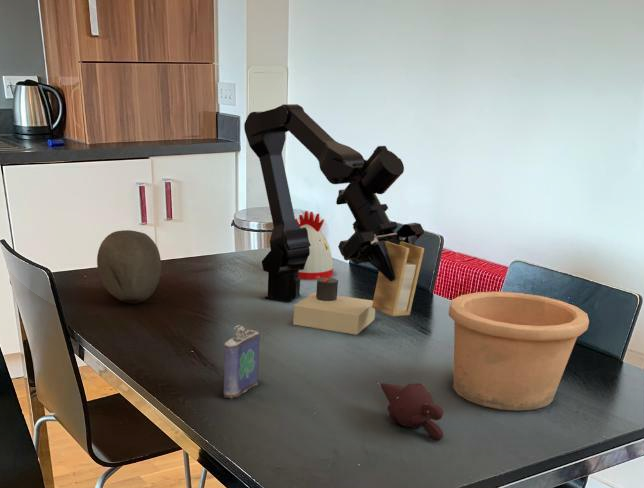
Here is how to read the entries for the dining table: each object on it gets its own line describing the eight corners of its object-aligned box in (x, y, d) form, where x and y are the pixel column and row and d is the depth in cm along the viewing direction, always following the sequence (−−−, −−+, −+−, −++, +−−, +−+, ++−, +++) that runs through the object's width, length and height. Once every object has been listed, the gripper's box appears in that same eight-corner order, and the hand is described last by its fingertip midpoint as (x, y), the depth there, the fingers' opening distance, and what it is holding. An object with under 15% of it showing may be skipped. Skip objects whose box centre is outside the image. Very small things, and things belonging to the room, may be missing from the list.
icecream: (360, 374, 121) (420, 417, 111) (399, 356, 123) (462, 397, 113) (363, 411, 126) (421, 455, 115) (401, 393, 128) (461, 435, 117)
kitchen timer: (315, 282, 194) (318, 218, 186) (268, 273, 200) (270, 211, 193) (342, 272, 204) (346, 211, 196) (297, 263, 210) (300, 204, 203)
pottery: (481, 361, 147) (495, 284, 140) (592, 395, 134) (613, 312, 127) (412, 389, 134) (423, 305, 126) (527, 430, 120) (547, 339, 113)
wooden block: (291, 324, 163) (292, 304, 161) (313, 309, 174) (314, 290, 171) (356, 334, 159) (358, 314, 157) (375, 318, 169) (377, 299, 167)
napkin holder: (371, 307, 158) (384, 241, 152) (389, 306, 161) (402, 241, 155) (392, 316, 154) (406, 248, 148) (409, 315, 157) (424, 248, 151)
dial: (320, 294, 169) (321, 275, 167) (339, 297, 168) (341, 277, 166) (313, 299, 166) (314, 279, 164) (332, 302, 164) (334, 282, 162)
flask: (233, 399, 127) (233, 335, 121) (218, 396, 128) (217, 332, 123) (261, 382, 134) (263, 321, 129) (246, 379, 135) (247, 318, 130)
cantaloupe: (175, 304, 173) (172, 234, 165) (115, 313, 166) (110, 240, 158) (146, 290, 183) (143, 222, 175) (89, 297, 176) (83, 227, 168)
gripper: (374, 229, 166) (407, 293, 165) (311, 239, 156) (346, 307, 154) (407, 195, 157) (443, 263, 156) (342, 203, 147) (380, 275, 145)
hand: (402, 278), depth 153 cm, fingers closed on napkin holder, 5 cm apart
